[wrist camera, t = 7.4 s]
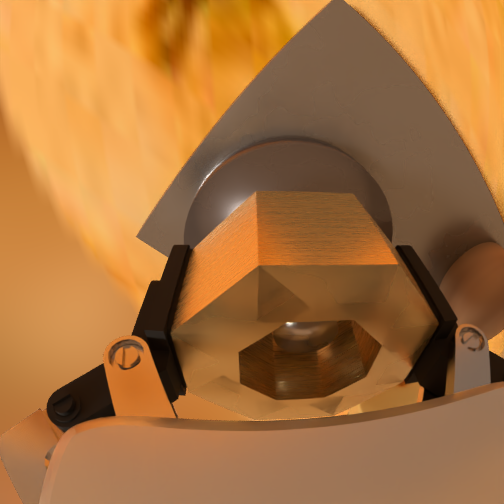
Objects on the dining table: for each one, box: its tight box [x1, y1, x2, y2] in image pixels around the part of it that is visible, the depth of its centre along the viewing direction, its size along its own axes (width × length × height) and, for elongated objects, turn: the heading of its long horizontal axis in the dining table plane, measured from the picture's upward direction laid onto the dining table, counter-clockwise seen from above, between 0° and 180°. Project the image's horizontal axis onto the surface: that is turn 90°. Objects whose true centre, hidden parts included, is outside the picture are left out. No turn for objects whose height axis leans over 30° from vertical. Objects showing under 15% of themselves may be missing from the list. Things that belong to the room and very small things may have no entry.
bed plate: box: [136, 0, 504, 287], centre depth 16 cm, size 23×14×1 cm, turn 51°
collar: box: [171, 191, 439, 420], centre depth 9 cm, size 7×7×4 cm
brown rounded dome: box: [439, 242, 504, 340], centre depth 15 cm, size 6×6×4 cm
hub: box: [184, 135, 393, 353], centre depth 12 cm, size 9×9×7 cm
